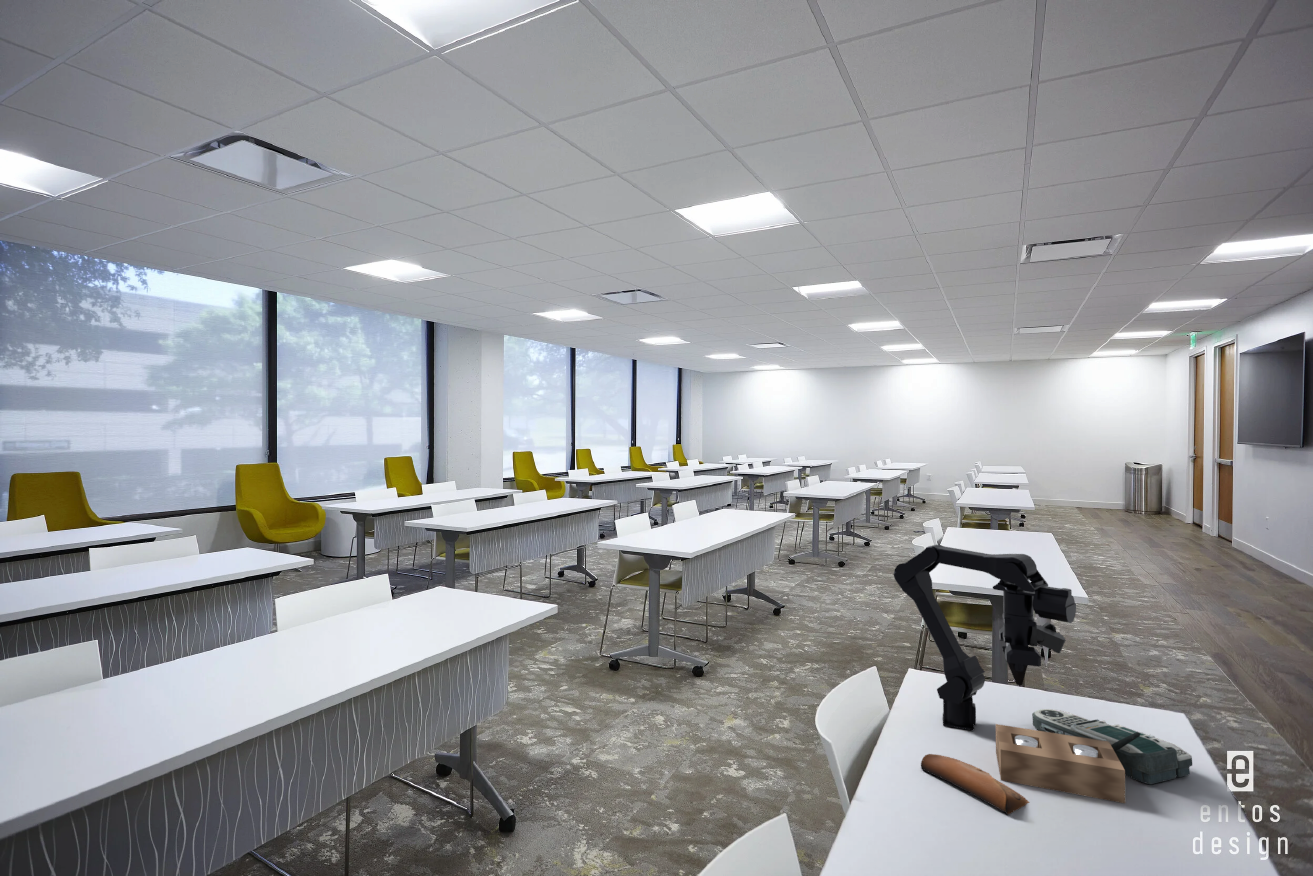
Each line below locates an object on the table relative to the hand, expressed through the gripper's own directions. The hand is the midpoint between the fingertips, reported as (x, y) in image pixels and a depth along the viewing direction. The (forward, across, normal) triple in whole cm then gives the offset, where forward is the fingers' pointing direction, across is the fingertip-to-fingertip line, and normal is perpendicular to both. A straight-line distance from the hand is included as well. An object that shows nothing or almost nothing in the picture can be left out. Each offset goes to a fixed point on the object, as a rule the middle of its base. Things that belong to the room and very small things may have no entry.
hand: (1019, 684), depth 138 cm
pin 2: (+13, -12, -10) cm, 20 cm away
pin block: (+13, -12, -5) cm, 18 cm away
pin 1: (+13, -12, 0) cm, 18 cm away
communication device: (+14, +4, -15) cm, 21 cm away
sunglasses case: (+14, -22, +10) cm, 28 cm away
